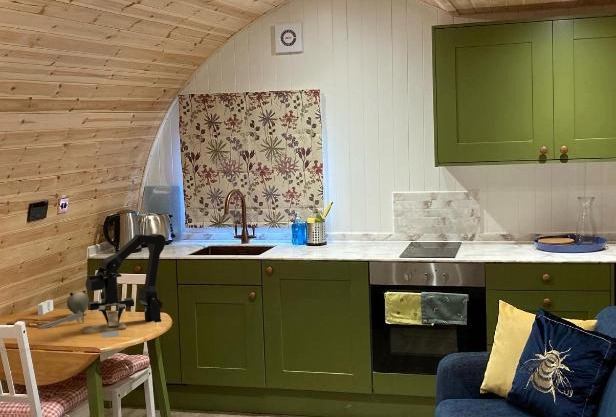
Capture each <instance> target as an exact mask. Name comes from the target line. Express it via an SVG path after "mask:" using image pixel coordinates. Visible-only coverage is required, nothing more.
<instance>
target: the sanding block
mask: <svg viewBox="0 0 616 417" xmlns="http://www.w3.org/2000/svg"><path fill="white" fill-rule="evenodd" d="M106 312H107V317H108V326H109V328H114V327H119V326H118V310H108V311H107V310H106Z"/></svg>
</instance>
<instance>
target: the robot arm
mask: <svg viewBox="0 0 616 417" xmlns="http://www.w3.org/2000/svg"><path fill="white" fill-rule="evenodd" d="M166 242H167V238H166V237H165V236H164V235H163V234H159V233H150V234H149V235H147V234H141V233H137V234H135V235H134V236H133V237H132V238H131V239H130V240H129V241H128V242H127V243H126V244H124V245H123V246H122V247H121V248H120V249H119V250H118V251H117V252H115V253H114V254H112V255H111V254H110V255H109V256H108V257H106V258H104V259H103V260H101V262H100V266H99V268H98V270H97V272H96V273H95V274H94V275H87V277H86V280H85V290H87V292H88V293H90V292H96V291H100V300H101V301H102V300H103V301H104V302H99V300H95V301H93V300H92V301H89V304H88V307H89V311H98V312H101V313H102V315H103V316H104V320H105V322H106V324H108V314H107V309H106V307H115V306H117V313H118V323H120V320H121V316H122V313H123V311H124V310H126V309H127V307H134V306H135V300H134V298H133V297H126V298H123V300H119V291H118V290H119V289H118V278H121V277H122V276H123V275H122V274H121V273H119V271H118V270H119V269H120V268H121V266H122V265H123V262H124V261H125V260H126V259H127V258H128V257H130V256H131V255H132V253H134V252H135V251H136V250H137V249H138V248H139V247H141V246H142V244H147V250H148V259H147V266H146V271H145V272H146V274H145V279H144V280H145V281H144V285H143V287H139V289H138V292H139V293H138V295H137V297H138V300H139V302H140V304H142V306H143V308H144V309H145V310H144V311H143V314H144V321H145V322H146V323H150V322H154V323H156V322H162V318H161V316H162V315H161V309H162V308H163V305H164V302H162V301H161V300H160V299H159V298H158V291H157V290H158V289H157V287H156V284H157V279H158V270H159V263H160V257H161V253H162V252H163V250H164V248H165V245H166ZM102 290H103V291H102Z"/></svg>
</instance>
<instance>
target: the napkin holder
mask: <svg viewBox="0 0 616 417" xmlns="http://www.w3.org/2000/svg"><path fill="white" fill-rule="evenodd" d="M53 310H54V299H47V300H44V301H42V302H40V303H38V304H37V314H38V316H43V315H45V314H47V313H49V312H52V311H53Z"/></svg>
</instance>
